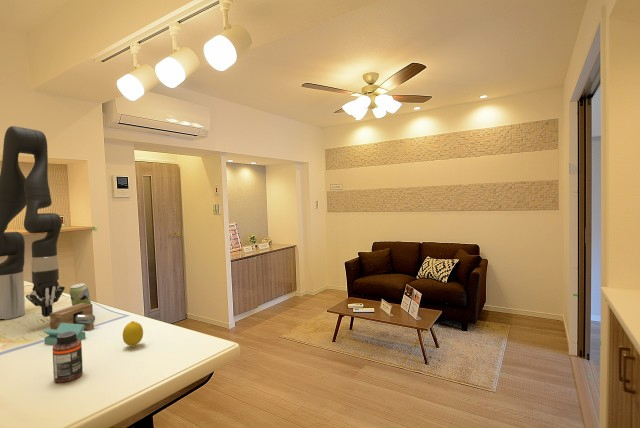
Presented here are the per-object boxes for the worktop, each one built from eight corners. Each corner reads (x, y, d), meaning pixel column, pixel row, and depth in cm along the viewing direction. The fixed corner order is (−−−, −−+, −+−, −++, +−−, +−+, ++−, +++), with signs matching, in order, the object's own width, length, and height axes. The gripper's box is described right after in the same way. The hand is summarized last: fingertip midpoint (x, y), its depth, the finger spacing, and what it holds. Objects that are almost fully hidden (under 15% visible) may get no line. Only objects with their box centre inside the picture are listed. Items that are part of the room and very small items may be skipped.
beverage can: (95, 310, 139) (94, 281, 139) (81, 316, 132) (80, 286, 132) (81, 310, 140) (80, 281, 140) (66, 316, 133) (65, 286, 132)
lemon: (147, 344, 106) (146, 319, 106) (132, 351, 101) (131, 325, 100) (134, 342, 108) (133, 317, 107) (118, 349, 102) (117, 323, 102)
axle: (54, 322, 120) (54, 314, 120) (62, 319, 123) (62, 311, 123) (87, 325, 117) (87, 316, 117) (95, 322, 120) (95, 313, 120)
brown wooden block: (50, 333, 115) (49, 313, 114) (81, 321, 127) (80, 303, 126) (76, 336, 113) (75, 315, 113) (105, 323, 125) (105, 304, 124)
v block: (43, 344, 106) (42, 329, 106) (63, 335, 113) (63, 322, 113) (67, 346, 105) (66, 331, 104) (86, 337, 111) (85, 323, 111)
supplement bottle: (64, 372, 89) (62, 329, 88) (87, 371, 89) (86, 328, 89) (47, 384, 83) (46, 339, 82) (73, 383, 83) (71, 338, 83)
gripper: (54, 264, 129) (56, 309, 129) (17, 272, 116) (19, 321, 116) (70, 265, 127) (72, 310, 128) (35, 272, 114) (37, 323, 115)
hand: (47, 316), depth 122 cm, fingers closed
